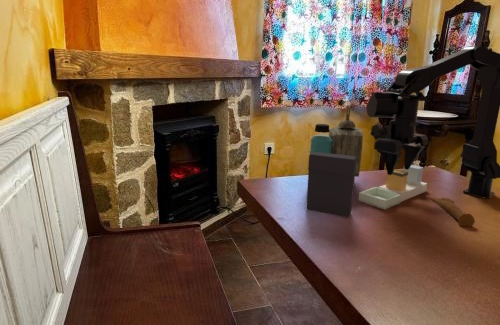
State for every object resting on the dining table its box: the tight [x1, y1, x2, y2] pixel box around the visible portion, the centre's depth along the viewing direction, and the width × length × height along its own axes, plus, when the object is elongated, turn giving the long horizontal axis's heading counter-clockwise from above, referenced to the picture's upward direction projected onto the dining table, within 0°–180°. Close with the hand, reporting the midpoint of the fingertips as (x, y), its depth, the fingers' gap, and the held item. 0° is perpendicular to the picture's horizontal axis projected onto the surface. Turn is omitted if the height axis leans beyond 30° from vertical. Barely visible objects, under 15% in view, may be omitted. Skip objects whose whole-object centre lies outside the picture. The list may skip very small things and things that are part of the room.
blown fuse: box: [385, 168, 408, 191], centre depth 102 cm, size 3×5×7 cm
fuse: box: [402, 164, 424, 185], centre depth 107 cm, size 3×4×7 cm, turn 39°
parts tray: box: [358, 186, 402, 211], centre depth 98 cm, size 8×8×2 cm
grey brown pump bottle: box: [328, 104, 364, 178], centre depth 111 cm, size 14×9×25 cm, turn 170°
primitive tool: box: [430, 197, 476, 228], centre depth 92 cm, size 19×6×4 cm, turn 172°
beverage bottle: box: [307, 123, 332, 175], centre depth 105 cm, size 6×7×20 cm
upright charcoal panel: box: [305, 152, 357, 218], centre depth 89 cm, size 11×4×15 cm, turn 65°
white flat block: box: [378, 181, 428, 202], centre depth 105 cm, size 15×7×2 cm, turn 129°
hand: (398, 171), depth 101 cm, fingers open, 9 cm apart
